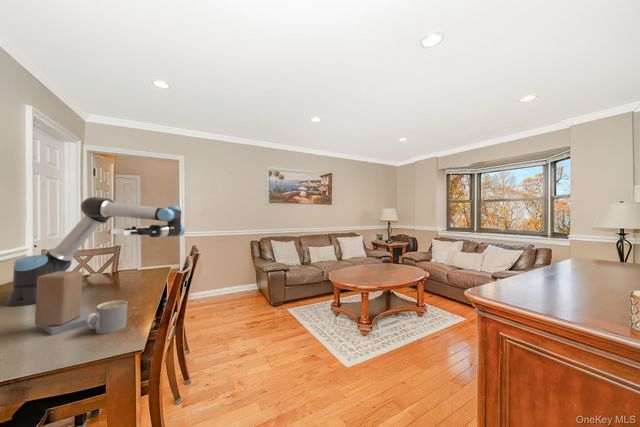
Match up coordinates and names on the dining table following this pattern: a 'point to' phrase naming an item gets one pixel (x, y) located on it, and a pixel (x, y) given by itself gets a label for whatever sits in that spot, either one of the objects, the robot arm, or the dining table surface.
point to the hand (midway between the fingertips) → (116, 232)
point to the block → (58, 298)
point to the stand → (69, 324)
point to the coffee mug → (109, 317)
